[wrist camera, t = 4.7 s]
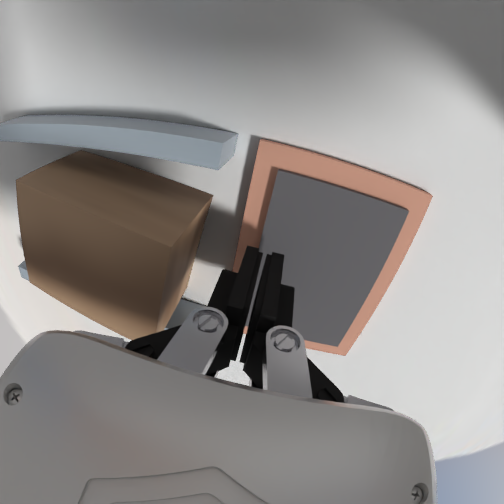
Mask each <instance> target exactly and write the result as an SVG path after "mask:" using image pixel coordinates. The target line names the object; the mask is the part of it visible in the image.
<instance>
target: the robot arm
mask: <svg viewBox="0 0 504 504" xmlns="http://www.w3.org/2000/svg"><path fill="white" fill-rule="evenodd" d="M262 256H263V253H262V252H259V248H256V247H252V246H248V245H247V248H246V251H245V254H244V257H243V259H242V262H241V265H240V268H239V271H238V273H236V272H232V271H228V270H224V269H223V270H222V272H221V275H220V277H219V279H218V282H217V284H216V286H215V289H214V291H213V294H212V296H211V298H210V301H209V303H208V306H207V307H200V308H197V309H195V310H193V311H192V312H191V313H190V314H189V316H188V317H187V319H186V320H185V321H184V323H183V324H182V325H179V326H176V327H173V328H170V329H166V330H163V331H160V332H157V333H153V334H150V335H147V336H143V337H140V338H137V339H134V340H132V341H130V342H125V341H124V339H123V338H118V337H112V336H106V335H101V334H96V333H91V332H86V331H74V332H71V331H59V330H56V331H46V332H43V333H40V334H38V335H37V336H35V337H34V338H33V339H31V340H30V341H29V342H28V343H27V344H26V345H25V346H24V347H23V348H22V349H21V351H20V352H19V353H18V354H17V355H16V357H15V358H14V359H13V361H12V362H11V363H10V365H9V366H8V367H7V369H6V370H5V371H4V373H3V375H2V376H1V377H0V504H437V480H436V471H435V462H434V456H433V451H432V447H431V443H430V440H429V437H428V435H427V432H426V431H425V429H424V428H423V426H422V425H421V424H419V423H418V422H417V421H415V420H413V419H412V418H410V417H408V416H405V415H403V414H401V413H398V412H395V411H393V410H392V409H390V408H388V407H385V406H382V405H379V404H375V403H372V402H369V401H366V400H363V399H360V398H357V397H354V396H351V395H349V396H348V397H346V396H343V394H342V393H341V391H340V390H339V389H338V388H337V387H336V386H335V385H334V384H333V383H332V382H331V381H330V380H329V379H328V378H327V377H326V376H325V375H324V374H323V373H322V372H321V371H320V370H319V369H318V368H317V367H316V366H315V365H314V363H313V362H312V361H311V360H310V359H309V358H308V357H307V355H306V348H305V342H304V339H303V337H302V335H301V334H300V333H299V332H298V331H297V330H295V329H293V328H292V322H293V308H294V292H295V288H294V287H292V286H288V285H284V284H281V280H282V271H283V263H284V255H283V254H279V253H275V252H272V255H270V254H267V255H266V259H265V263H264V266H263V270H262V274H261V278H260V281H259V285H258V289H257V292H256V296H255V300H254V304H253V308H252V312H251V316H250V320H249V325H248V329H247V333H246V337H245V342H244V346H243V350H242V354H241V358H240V362H242V363H244V368H243V371H245V373H246V374H247V375H248V376H249V378H250V381H249V386H246V385H242V384H238V383H234V382H230V381H226V380H222V379H218V378H216V377H217V375H218V371H219V370H222V369H224V368H226V367H229V363H230V360H234V361H236V357H237V354H238V350H239V346H240V343H241V339H242V335H243V332H244V328H245V324H246V321H247V317H248V313H249V309H250V305H251V301H252V297H253V293H254V289H255V285H256V280H257V276H258V272H259V268H260V264H261V260H262Z"/></svg>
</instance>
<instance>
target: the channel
mask: <svg viewBox="0 0 504 504" xmlns="http://www.w3.org/2000/svg"><path fill="white" fill-rule="evenodd" d="M237 137H238V134H237V133H232V132H227V131H222V130H216V129H211V128H205V127H199V126H193V125H186V124H179V123H172V122H164V121H156V120H147V119H137V118H126V117H112V116H94V115H25V116H22V117H18V118H15V119H12V120H9V121H6V122H3V123H0V141H10V142H28V143H42V144H54V145H64V146H74V147H83V148H91V149H99V150H107V151H114V152H121V153H128V154H134V155H140V156H146V157H152V158H158V159H164V160H169V161H175V162H180V163H185V164H190V165H196V166H200V167H205V168H210V169H215V170H219V169H220V168H221V167H222V166H223V165H224V164H225V163H226V162H228V161H229V160H230V159H231V158H232V157H233V156H234V152H235V147H236V142H237ZM18 267H19V270H20V273H21V277H22V278H24V279H26V280H28V281H29V277H28V272H27V267H26V262H25V261H23V262H22V263H21V264H20V265H19V266H18ZM200 307H207V306H203V305H200V304H196V303H193V302H190V301H186V300H183V299H180V301H179V303H178V305H177V307H176V309H175V310H174V312H173V314H172V316H171V318H170V320H169V322H168V323H167V325H166V327H165V329H164V330H166V329H170V328H173V327H176V326H179V325H182V324H183V323H184V321H185V320H186V319H187V317H188V316H189V314H190V313H191V312H192V311H193V310H195V309H197V308H200Z"/></svg>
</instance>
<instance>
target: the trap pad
mask: <svg viewBox="0 0 504 504" xmlns="http://www.w3.org/2000/svg"><path fill="white" fill-rule="evenodd" d="M431 199H432V195H431V194H430V193H428V192H426V191H423V190H421V189H418V188H416V187H414V186H411V185H409V184H406V183H404V182H401V181H398V180H396V179H393V178H391V177H388V176H385V175H382V174H380V173H377V172H374V171H371V170H368V169H366V168H363V167H360V166H357V165H354V164H351V163H348V162H345V161H341V160H338V159H335V158H332V157H328V156H325V155H322V154H318V153H315V152H311V151H308V150H304V149H301V148H297V147H293V146H289V145H285V144H281V143H277V142H273V141H269V140H265V139H260V142H259V147H258V151H257V156H256V160H255V165H254V170H253V174H252V179H251V183H250V188H249V193H248V198H247V202H246V207H245V212H244V217H243V221H242V226H241V231H240V236H239V241H238V245H237V250H236V255H235V260H234V265H233V270H232V272H236V273H238V271H239V268H240V265H241V262H242V259H243V257H244V254H245V251H246V248H247V245H248V246H252V247H256V248H259V252H262V253H263V256H262V260H261V264H260V268H259V272H258V276H257V280H256V285H255V289H254V293H253V297H252V301H251V305H250V309H249V313H248V317H247V321H246V324H245V328H244V332H243V333H244V334H246V333H247V329H248V325H249V320H250V316H251V312H252V308H253V304H254V300H255V296H256V292H257V289H258V285H259V281H260V278H261V274H262V270H263V266H264V263H265V259H266V255H267V254H270V255H272V252H275V253H279V254H283V255H284V263H283V271H282V280H281V284H284V285H288V286H292V287H294V288H295V292H294V308H293V322H292V328H293V329H295V330H297V331H298V332H299V333H300V334H301V335H302V337H303V339H304V342H305V348H308V349H313V350H318V351H323V352H328V353H333V354H338V355H344V356H345V355H346V354H347V353H348V351H349V350H350V348H351V347H352V345H353V344H354V342H355V341H356V339H357V338H358V336H359V335H360V333H361V332H362V330H363V329H364V327H365V325H366V324H367V322H368V321H369V319H370V317H371V316H372V314H373V313H374V311H375V309H376V308H377V306H378V304H379V303H380V301H381V299H382V297H383V296H384V294H385V292H386V291H387V289H388V287H389V285H390V283H391V282H392V280H393V278H394V276H395V274H396V272H397V271H398V269H399V267H400V265H401V263H402V261H403V259H404V257H405V255H406V253H407V251H408V249H409V247H410V245H411V243H412V241H413V239H414V237H415V235H416V233H417V231H418V229H419V226H420V224H421V222H422V220H423V218H424V215H425V213H426V211H427V208H428V206H429V204H430V201H431Z"/></svg>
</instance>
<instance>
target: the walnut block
mask: <svg viewBox="0 0 504 504" xmlns="http://www.w3.org/2000/svg"><path fill="white" fill-rule="evenodd" d="M16 190H17V205H18V215H19V224H20V232H21V239H22V245H23V251H24V257H25V262H26V267H27V272H28V277H29V281H30V283H32V284H33V285H35V286H36V287H38V288H39V289H41V290H42V291H44V292H46V293H47V294H49V295H50V296H52V297H54V298H55V299H57V300H58V301H60V302H62V303H63V304H65V305H67V306H68V307H70V308H72V309H74V310H75V311H77V312H79V313H81V314H82V315H84V316H86V317H88V318H90V319H91V320H93V321H95V322H97V323H99V324H101V325H103V326H105V327H106V328H108V329H110V330H112V331H114V332H116V333H118V334H120V335H122V336H124V337H126V338H128V339H131V340H134V339H137V338H140V337H143V336H147V335H150V334H153V333H157V332H160V331H163V330H164V329H165V327H166V325H167V323H168V322H169V320H170V318H171V316H172V314H173V312H174V310H175V309H176V307H177V305H178V303H179V301H180V299H181V297H182V296H183V294H184V292H185V290H186V288H187V285H188V281H189V278H190V274H191V270H192V266H193V263H194V259H195V255H196V252H197V248H198V245H199V241H200V238H201V234H202V231H203V227H204V224H205V221H206V217H207V214H208V211H209V207H210V204H211V201H212V197H213V195H211V194H208V193H206V192H203V191H200V190H198V189H195V188H192V187H189V186H187V185H184V184H181V183H178V182H175V181H173V180H170V179H167V178H164V177H161V176H158V175H156V174H153V173H150V172H147V171H144V170H141V169H138V168H135V167H132V166H129V165H126V164H123V163H120V162H117V161H114V160H111V159H108V158H105V157H102V156H99V155H95V154H92V153H89V152H86V151H83V150H80V151H77V152H75V153H72V154H70V155H68V156H65V157H63V158H61V159H58V160H56V161H54V162H52V163H50V164H47V165H45V166H43V167H41V168H39V169H37V170H35V171H33V172H31V173H29V174H27V175H25V176H23V177H21V178H19V179H17V180H16Z"/></svg>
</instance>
